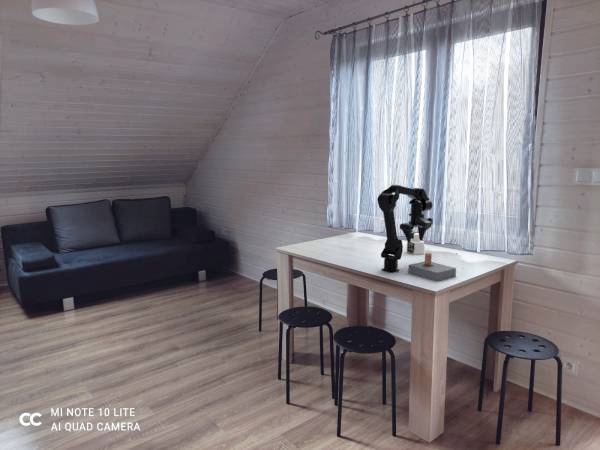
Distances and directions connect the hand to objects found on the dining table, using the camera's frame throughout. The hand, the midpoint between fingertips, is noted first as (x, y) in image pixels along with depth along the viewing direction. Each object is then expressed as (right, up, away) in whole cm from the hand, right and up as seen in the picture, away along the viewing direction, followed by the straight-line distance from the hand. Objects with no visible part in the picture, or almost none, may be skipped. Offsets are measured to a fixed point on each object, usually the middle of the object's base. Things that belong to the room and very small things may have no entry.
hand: (415, 241), depth 234 cm
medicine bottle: (+7, -8, +26) cm, 28 cm away
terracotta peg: (+2, -15, -16) cm, 22 cm away
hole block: (+3, -15, -18) cm, 24 cm away
